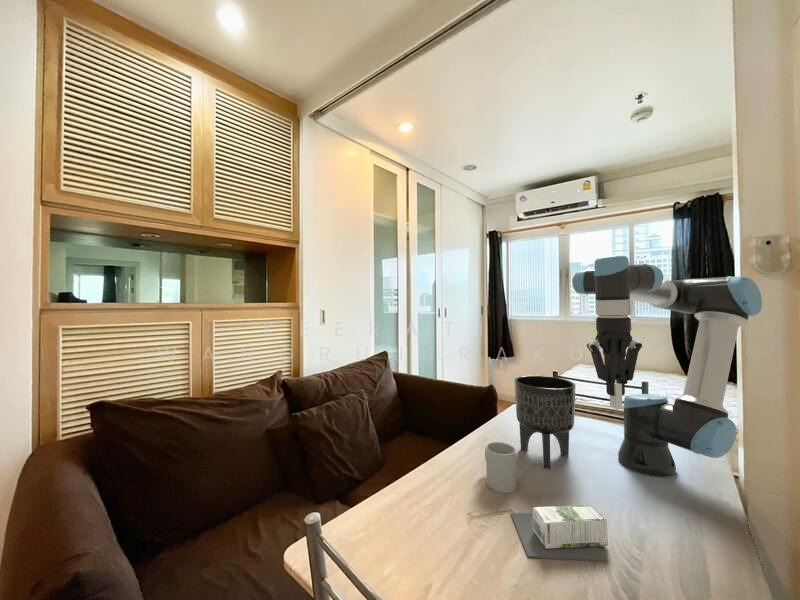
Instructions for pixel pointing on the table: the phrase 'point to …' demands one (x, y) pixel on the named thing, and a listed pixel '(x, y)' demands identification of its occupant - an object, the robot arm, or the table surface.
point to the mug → (500, 467)
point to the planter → (545, 411)
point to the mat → (538, 550)
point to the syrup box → (570, 526)
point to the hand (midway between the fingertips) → (616, 407)
